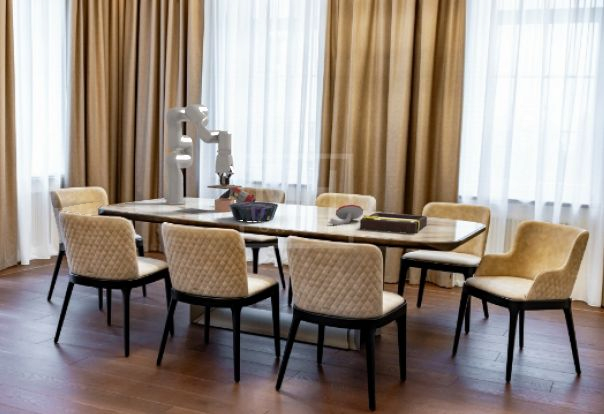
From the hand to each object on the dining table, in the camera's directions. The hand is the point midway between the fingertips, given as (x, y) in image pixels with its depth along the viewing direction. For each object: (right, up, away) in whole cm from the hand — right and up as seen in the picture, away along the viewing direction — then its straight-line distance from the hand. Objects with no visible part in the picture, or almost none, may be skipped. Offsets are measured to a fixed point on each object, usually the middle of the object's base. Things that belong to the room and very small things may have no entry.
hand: (224, 184), depth 380 cm
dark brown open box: (+92, -24, -40) cm, 103 cm away
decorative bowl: (+18, -20, -23) cm, 36 cm away
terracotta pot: (0, -16, +2) cm, 16 cm away
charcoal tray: (-19, -16, 0) cm, 25 cm away
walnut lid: (0, -2, 0) cm, 2 cm away
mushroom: (+66, -22, -27) cm, 75 cm away
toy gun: (+4, -13, +23) cm, 27 cm away
